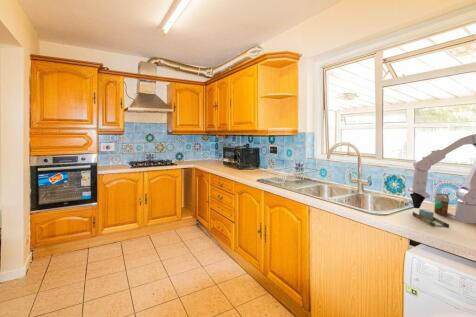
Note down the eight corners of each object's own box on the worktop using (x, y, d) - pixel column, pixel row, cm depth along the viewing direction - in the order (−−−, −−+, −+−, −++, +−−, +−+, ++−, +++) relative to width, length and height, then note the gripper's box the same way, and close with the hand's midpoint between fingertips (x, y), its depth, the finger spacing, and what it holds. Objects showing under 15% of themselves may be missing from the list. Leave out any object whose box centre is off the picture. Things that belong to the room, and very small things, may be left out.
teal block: (427, 217, 122) (428, 209, 122) (432, 220, 118) (433, 212, 118) (418, 217, 122) (419, 209, 122) (423, 219, 119) (424, 211, 118)
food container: (431, 209, 137) (434, 191, 136) (446, 211, 133) (448, 193, 132) (431, 214, 128) (433, 196, 127) (446, 217, 124) (449, 198, 123)
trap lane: (425, 216, 125) (425, 212, 125) (448, 228, 110) (449, 224, 110) (412, 215, 126) (412, 212, 125) (433, 227, 110) (434, 223, 110)
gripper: (403, 179, 133) (400, 203, 135) (420, 184, 119) (417, 212, 121) (417, 179, 133) (413, 204, 134) (436, 185, 118) (432, 213, 120)
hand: (416, 207), depth 127 cm, fingers closed
